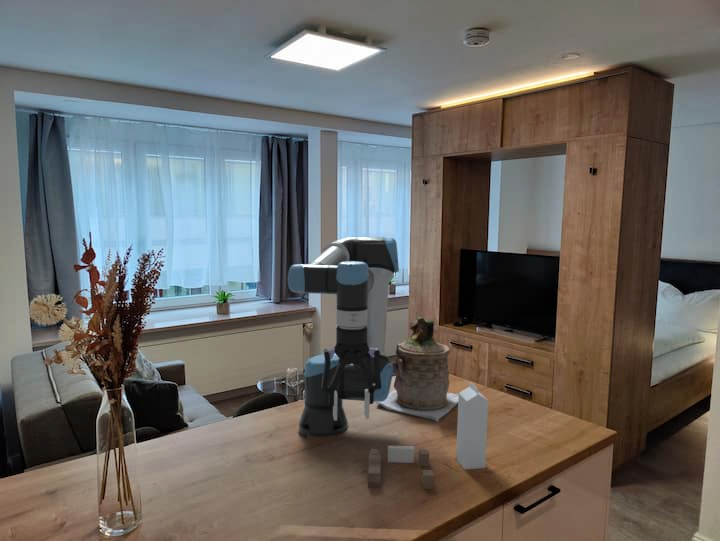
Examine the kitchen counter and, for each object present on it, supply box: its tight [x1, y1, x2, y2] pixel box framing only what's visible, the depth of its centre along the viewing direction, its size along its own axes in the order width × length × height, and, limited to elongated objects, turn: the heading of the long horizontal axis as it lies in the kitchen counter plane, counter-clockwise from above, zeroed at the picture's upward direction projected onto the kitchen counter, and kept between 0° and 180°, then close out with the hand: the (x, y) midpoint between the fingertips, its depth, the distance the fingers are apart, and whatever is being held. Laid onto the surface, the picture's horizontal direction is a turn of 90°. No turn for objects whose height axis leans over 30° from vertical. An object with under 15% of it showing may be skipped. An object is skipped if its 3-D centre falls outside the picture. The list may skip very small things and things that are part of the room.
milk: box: [455, 381, 489, 470], centre depth 130 cm, size 6×6×22 cm
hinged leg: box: [367, 448, 382, 489], centre depth 122 cm, size 12×3×4 cm, turn 178°
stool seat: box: [387, 445, 435, 490], centre depth 123 cm, size 17×15×5 cm
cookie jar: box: [375, 316, 459, 423], centre depth 170 cm, size 25×25×32 cm
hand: (351, 416), depth 119 cm, fingers open, 7 cm apart
